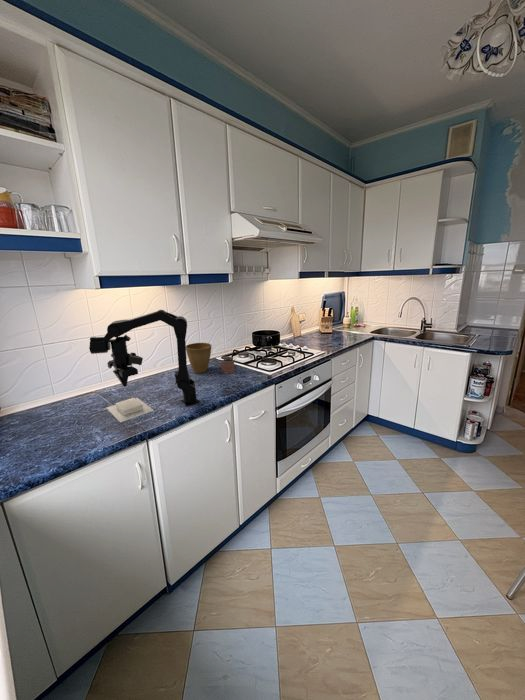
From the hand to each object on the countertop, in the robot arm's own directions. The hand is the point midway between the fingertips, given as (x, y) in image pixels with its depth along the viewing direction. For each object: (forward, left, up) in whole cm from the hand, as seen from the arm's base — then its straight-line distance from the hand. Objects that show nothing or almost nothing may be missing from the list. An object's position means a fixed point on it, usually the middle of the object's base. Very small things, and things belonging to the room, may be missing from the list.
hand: (125, 386), depth 125 cm
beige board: (-1, 0, -11) cm, 11 cm away
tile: (+4, 0, -9) cm, 10 cm away
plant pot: (+19, -49, -12) cm, 54 cm away
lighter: (+5, -59, -12) cm, 60 cm away
